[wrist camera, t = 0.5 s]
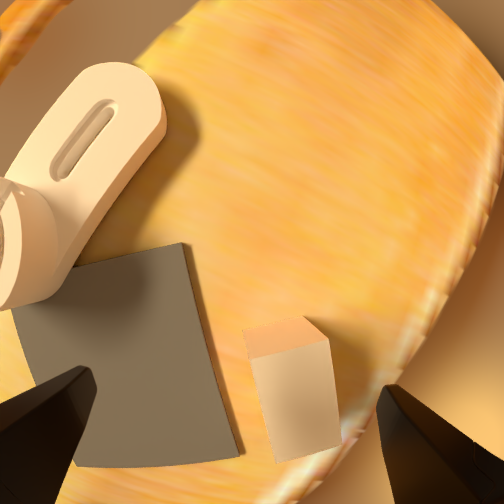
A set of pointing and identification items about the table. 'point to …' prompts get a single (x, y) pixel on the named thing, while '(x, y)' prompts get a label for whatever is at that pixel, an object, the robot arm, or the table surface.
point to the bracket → (73, 176)
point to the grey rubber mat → (133, 360)
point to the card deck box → (295, 387)
